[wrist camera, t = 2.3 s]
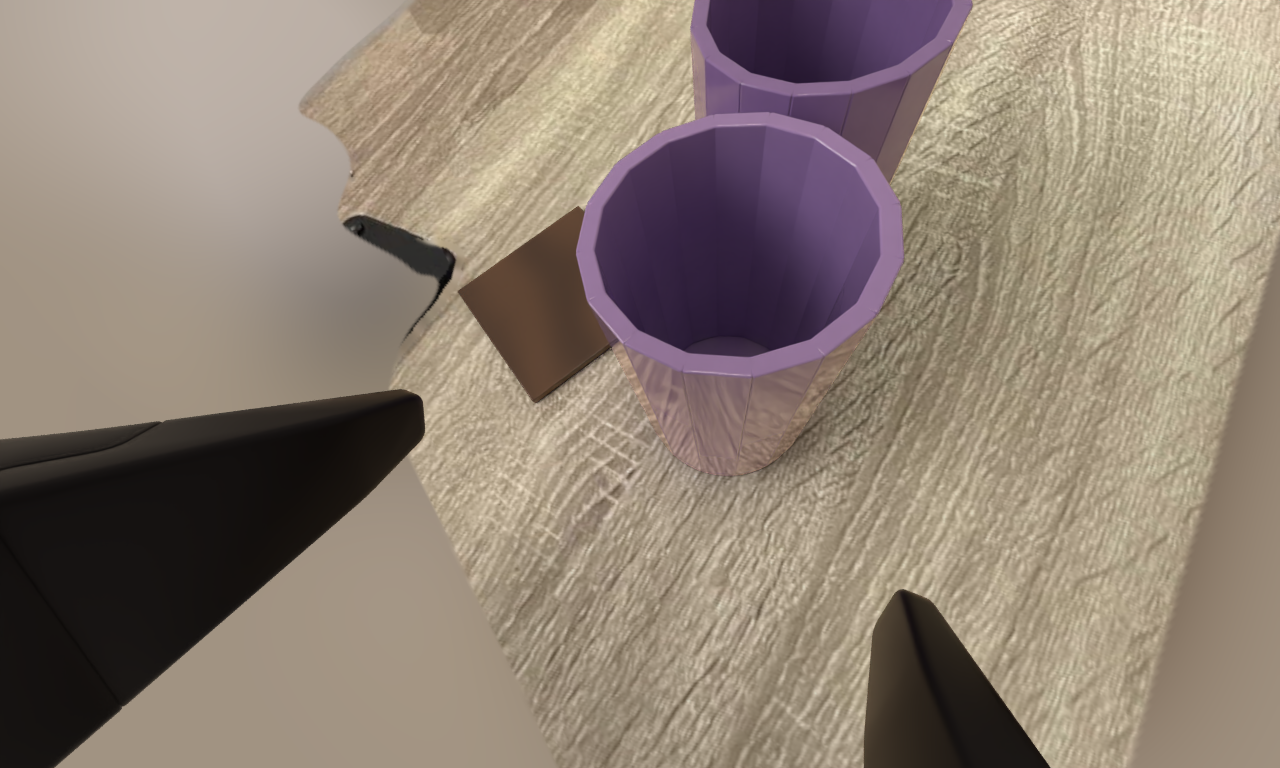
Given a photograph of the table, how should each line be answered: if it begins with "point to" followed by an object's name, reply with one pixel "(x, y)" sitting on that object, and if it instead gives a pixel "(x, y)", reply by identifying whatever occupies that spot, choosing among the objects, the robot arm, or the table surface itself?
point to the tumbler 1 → (827, 64)
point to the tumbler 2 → (738, 277)
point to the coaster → (539, 309)
